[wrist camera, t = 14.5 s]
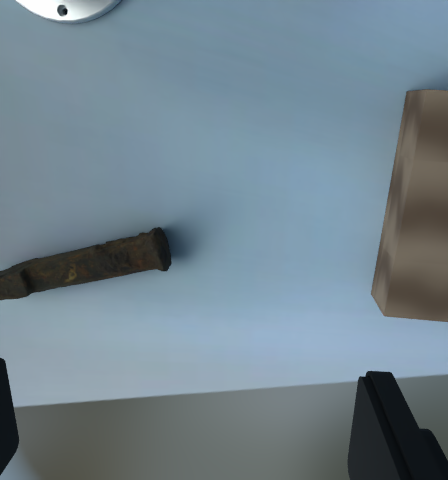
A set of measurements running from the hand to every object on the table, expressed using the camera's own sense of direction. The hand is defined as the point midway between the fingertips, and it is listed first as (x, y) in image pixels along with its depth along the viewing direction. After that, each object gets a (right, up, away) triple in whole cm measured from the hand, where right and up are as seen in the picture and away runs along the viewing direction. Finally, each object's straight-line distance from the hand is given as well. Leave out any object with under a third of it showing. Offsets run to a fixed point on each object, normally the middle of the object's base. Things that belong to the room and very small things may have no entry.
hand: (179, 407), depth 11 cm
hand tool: (-13, +2, +31) cm, 34 cm away
